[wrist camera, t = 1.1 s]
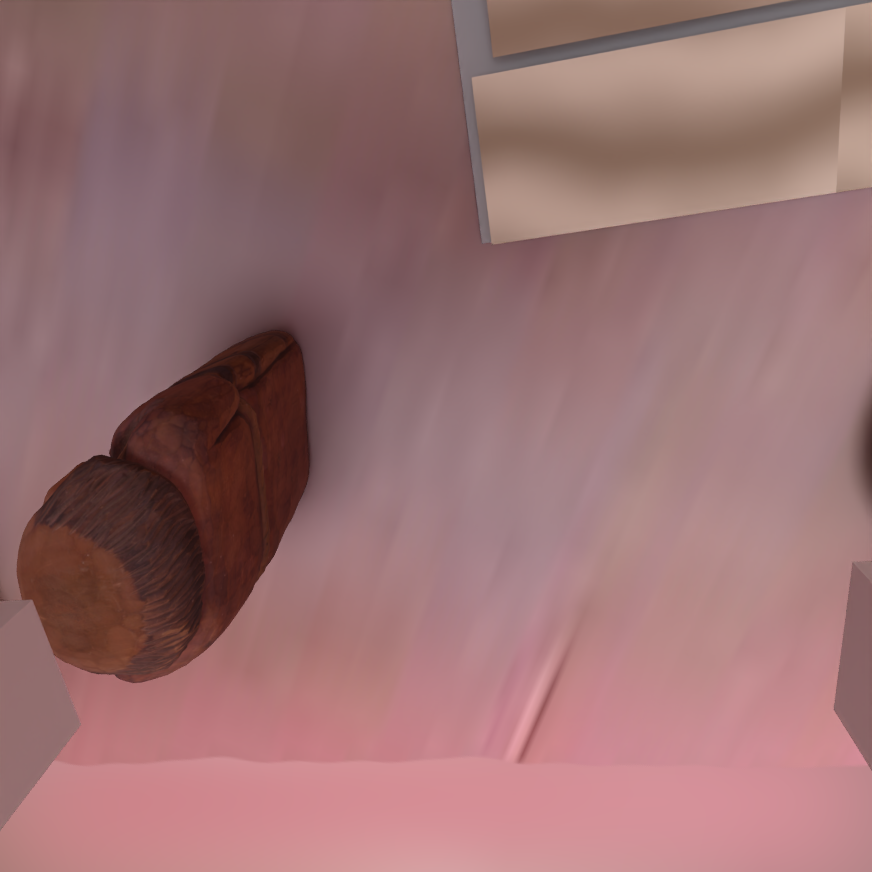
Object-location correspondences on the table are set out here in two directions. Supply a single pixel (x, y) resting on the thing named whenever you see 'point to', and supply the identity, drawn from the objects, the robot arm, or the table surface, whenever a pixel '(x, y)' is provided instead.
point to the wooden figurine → (172, 516)
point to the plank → (591, 19)
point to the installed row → (679, 126)
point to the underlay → (480, 61)
